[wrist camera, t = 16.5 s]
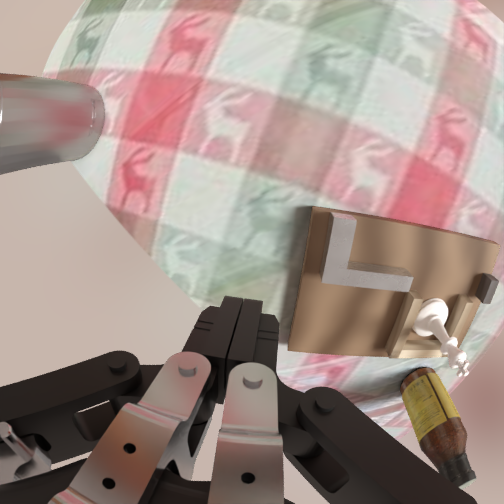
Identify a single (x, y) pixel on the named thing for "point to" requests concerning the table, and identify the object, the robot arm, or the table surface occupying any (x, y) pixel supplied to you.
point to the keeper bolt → (354, 273)
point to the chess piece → (440, 332)
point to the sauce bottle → (437, 425)
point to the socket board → (387, 301)
